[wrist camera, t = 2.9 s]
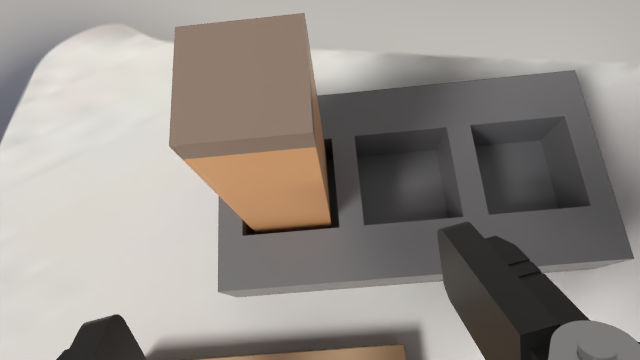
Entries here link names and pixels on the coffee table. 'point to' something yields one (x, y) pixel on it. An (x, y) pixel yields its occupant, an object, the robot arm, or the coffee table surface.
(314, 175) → the plug
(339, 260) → the grey compartment tray
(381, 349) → the rest pad
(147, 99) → the coffee table surface
